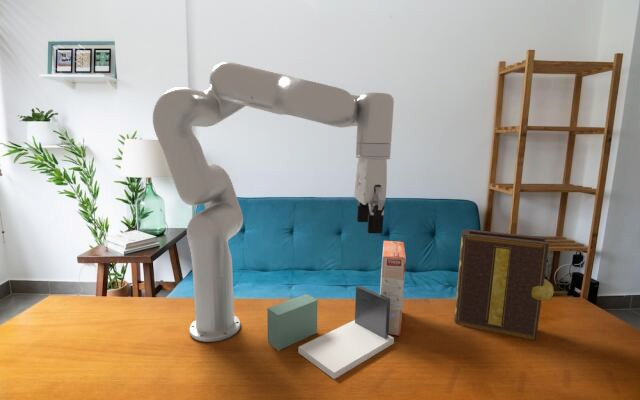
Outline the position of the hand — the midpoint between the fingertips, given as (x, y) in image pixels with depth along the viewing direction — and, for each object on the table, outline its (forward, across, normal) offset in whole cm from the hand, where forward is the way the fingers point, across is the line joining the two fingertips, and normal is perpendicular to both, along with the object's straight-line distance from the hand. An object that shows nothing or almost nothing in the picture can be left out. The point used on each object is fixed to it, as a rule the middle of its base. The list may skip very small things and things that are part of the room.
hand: (368, 227), depth 82 cm
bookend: (+28, -3, +3) cm, 28 cm away
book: (+29, -3, +38) cm, 48 cm away
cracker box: (+29, -9, +10) cm, 32 cm away
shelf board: (+29, +2, -4) cm, 30 cm away
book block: (+30, -4, -17) cm, 34 cm away
